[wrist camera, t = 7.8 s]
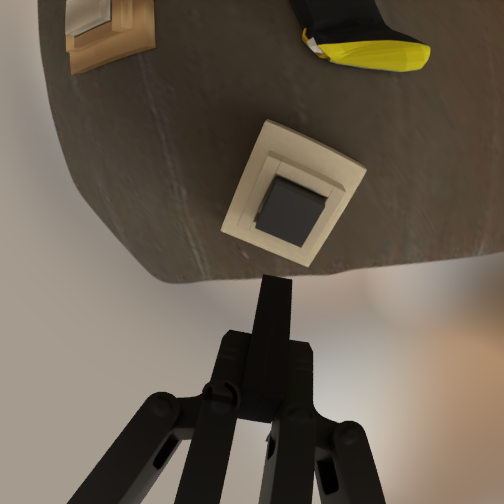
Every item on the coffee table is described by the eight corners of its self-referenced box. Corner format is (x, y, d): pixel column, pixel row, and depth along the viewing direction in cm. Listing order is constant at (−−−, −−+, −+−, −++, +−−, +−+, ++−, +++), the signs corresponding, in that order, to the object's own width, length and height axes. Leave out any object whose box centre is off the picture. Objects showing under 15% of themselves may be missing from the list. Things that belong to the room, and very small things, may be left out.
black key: (277, 175, 23) (275, 183, 21) (323, 197, 23) (325, 206, 22) (257, 217, 25) (254, 228, 24) (301, 236, 26) (301, 248, 24)
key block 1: (81, -8, 15) (59, -12, 12) (154, -40, 14) (136, -52, 10) (82, 73, 22) (58, 76, 18) (156, 47, 20) (135, 44, 17)
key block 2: (267, 118, 23) (263, 123, 20) (362, 164, 24) (372, 176, 21) (224, 222, 30) (215, 240, 27) (307, 257, 31) (308, 279, 28)
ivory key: (78, 2, 14) (66, 0, 12) (112, -15, 13) (100, -19, 12) (78, 35, 16) (65, 35, 15) (111, 20, 16) (99, 17, 14)
